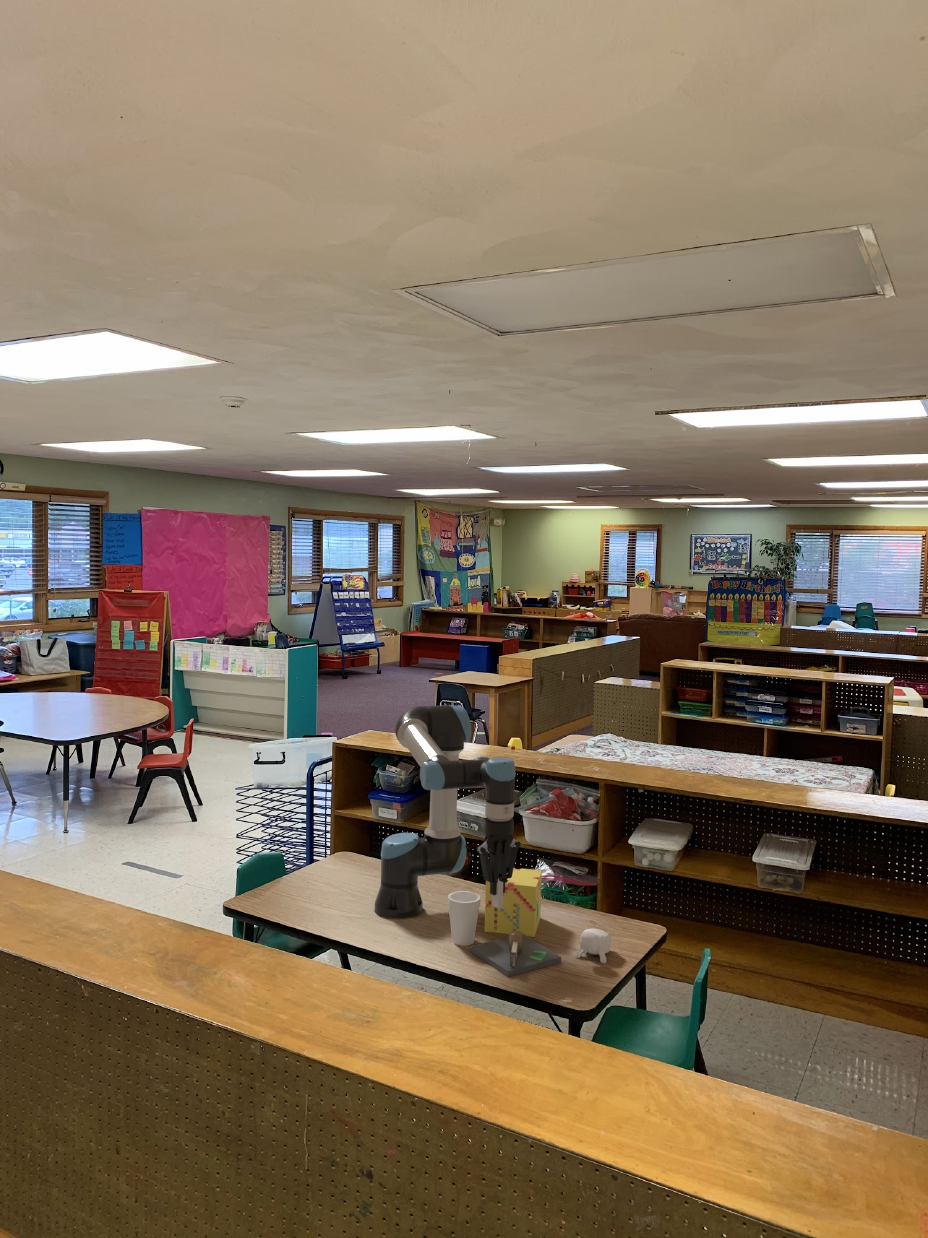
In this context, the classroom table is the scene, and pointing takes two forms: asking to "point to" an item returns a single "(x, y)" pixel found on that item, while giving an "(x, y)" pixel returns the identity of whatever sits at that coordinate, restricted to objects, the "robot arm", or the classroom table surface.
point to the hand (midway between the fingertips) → (497, 906)
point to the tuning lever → (515, 945)
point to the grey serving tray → (525, 960)
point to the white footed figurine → (594, 943)
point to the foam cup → (463, 916)
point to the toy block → (516, 904)
